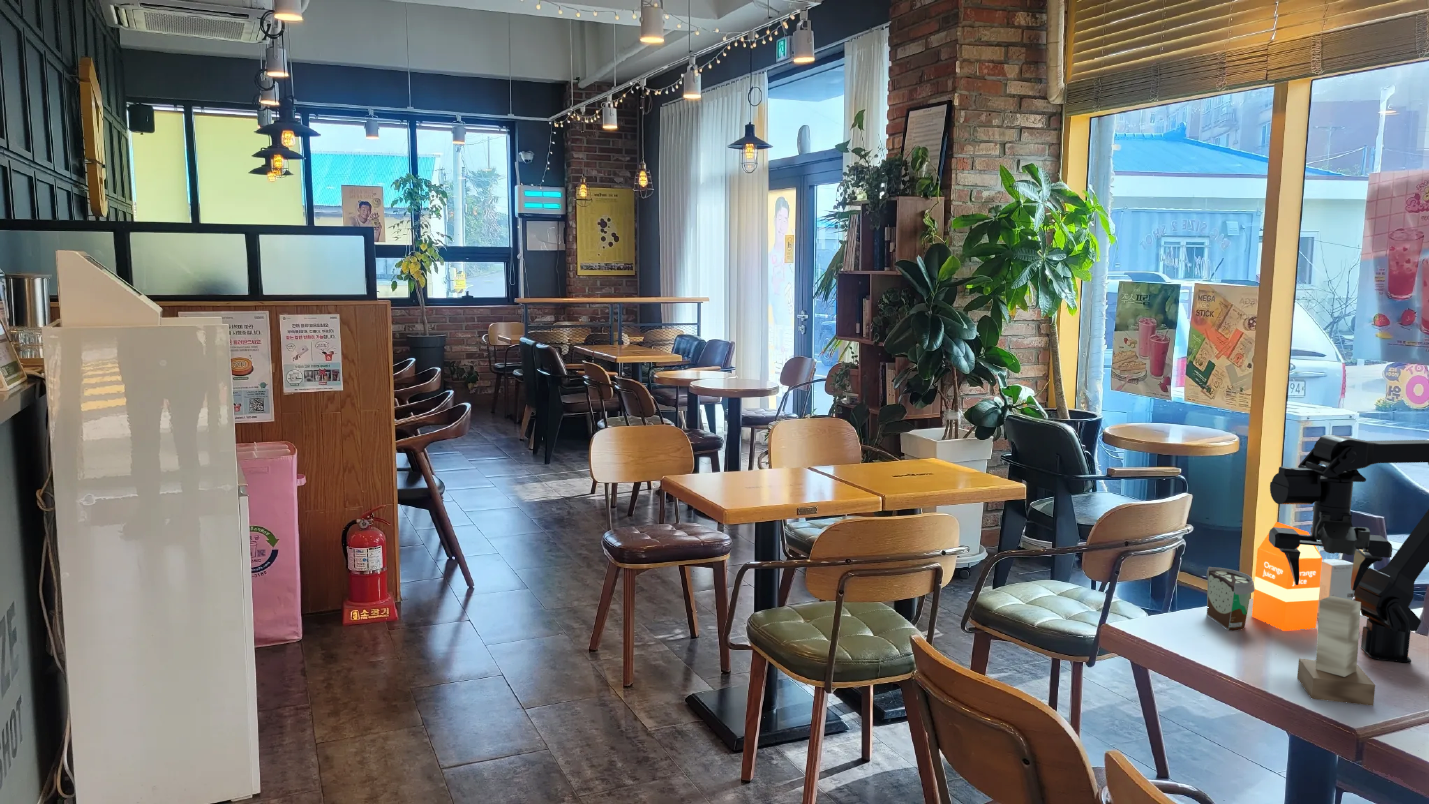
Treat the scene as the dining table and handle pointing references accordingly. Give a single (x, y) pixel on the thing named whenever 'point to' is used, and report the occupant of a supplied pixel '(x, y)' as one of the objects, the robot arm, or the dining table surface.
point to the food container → (1228, 597)
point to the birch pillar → (1338, 635)
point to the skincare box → (1335, 580)
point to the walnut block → (1335, 684)
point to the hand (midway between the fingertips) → (1324, 587)
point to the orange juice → (1286, 586)
